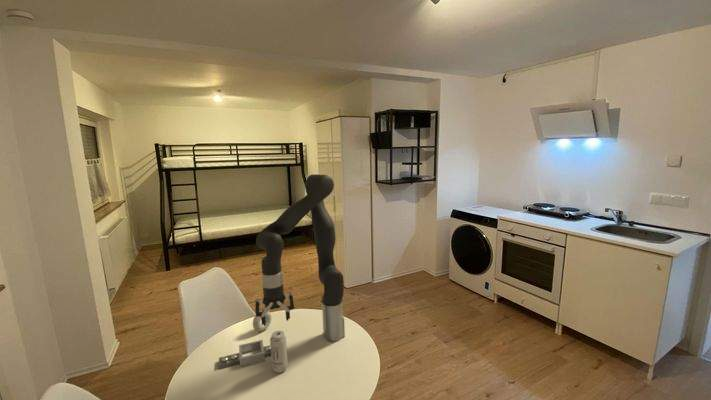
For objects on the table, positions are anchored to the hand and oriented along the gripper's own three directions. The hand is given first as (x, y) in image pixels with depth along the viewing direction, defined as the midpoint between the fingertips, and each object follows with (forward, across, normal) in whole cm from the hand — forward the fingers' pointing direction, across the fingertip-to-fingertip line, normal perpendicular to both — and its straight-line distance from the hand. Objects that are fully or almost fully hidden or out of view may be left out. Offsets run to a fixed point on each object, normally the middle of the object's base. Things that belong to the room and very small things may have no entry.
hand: (276, 322), depth 119 cm
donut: (+20, +4, -30) cm, 36 cm away
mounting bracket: (+20, +10, -11) cm, 25 cm away
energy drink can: (+20, 0, 0) cm, 20 cm away
